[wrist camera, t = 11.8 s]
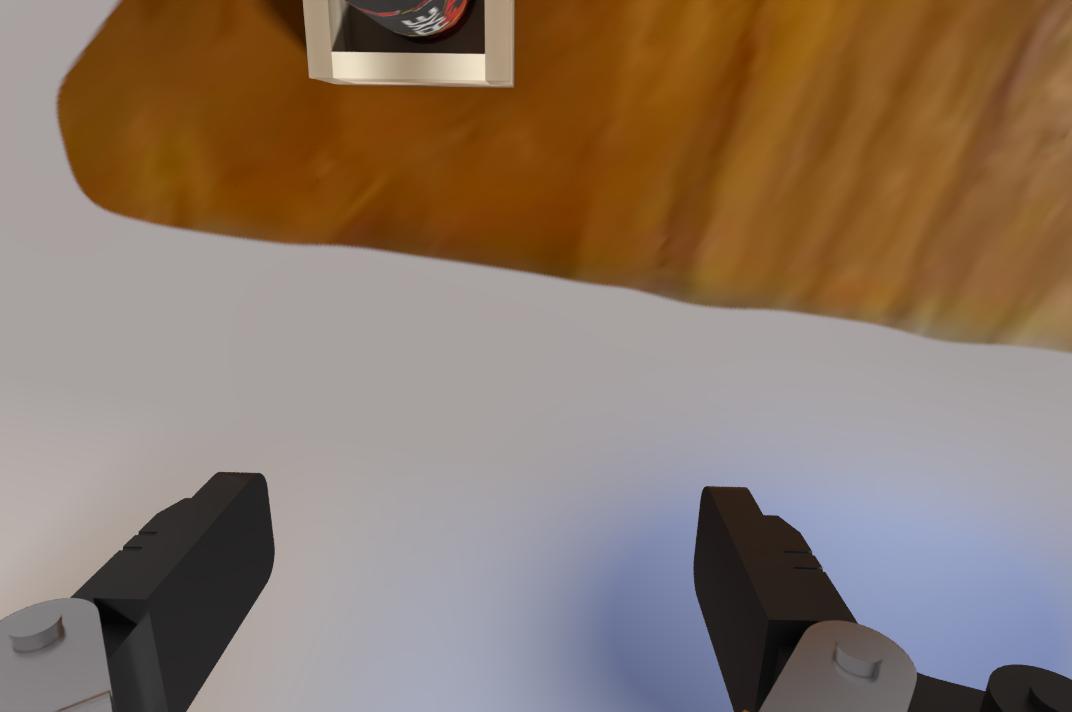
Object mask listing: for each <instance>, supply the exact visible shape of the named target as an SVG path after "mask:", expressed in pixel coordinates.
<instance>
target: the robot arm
mask: <svg viewBox="0 0 1072 712" xmlns="http://www.w3.org/2000/svg"><path fill="white" fill-rule="evenodd" d="M274 554H275V548H274V538H273V530H272V521H271V513H270V504H269V497H268V488H267V482H266V479H265V477H264V476H263V475H262V474H261V473H238V472H237V473H236V472H218V473H216V474H215V475H214V476H213V477H212V478H211V479H210V480H209V481H208V482H207V483H206V484H205V485H204V486H203V487H202V488H201V489H200V490H199V491H198V492H197V493H196V494H195V495H194V496H193V497H192V498H185V499H183V500H181V501H179V502H177V503H175V504H174V505H172V506H170V507H168V508H166V509H165V510H163V511H161V512H159V513H157V514H156V515H155V516H154V517H153V518H152V519H151V520H150V521H149V522H148V523H147V524H146V525H145V526H144V527H143V528H142V529H141V530H140V531H139V534H138V535H135V536H134V537H133V538H132V539H131V540H129V541H128V542H127V543H126V544H125V545H124V546H123V550H122V551H121V550H119V551H118V552H117V553H116V554H115V555H114V556H113V557H112V558H111V559H110V560H109V561H108V562H107V563H106V564H105V565H104V566H103V567H102V568H101V569H99V570H98V571H97V572H96V574H94V575H93V576H92V577H91V578H90V579H89V580H88V581H87V582H86V583H85V584H84V585H83V586H82V587H81V588H80V589H79V590H78V591H77V592H76V593H75V594H74V595H73V596H72V597H71V598H62V599H54V600H49V601H45V602H41V603H38V604H34V605H31V606H29V607H26V608H24V609H21V610H19V611H16V612H14V613H12V614H11V615H9V616H7V617H5V618H3V619H2V620H0V712H186V711H187V710H188V708H189V706H190V705H191V703H192V702H193V700H194V698H195V697H196V695H197V694H198V691H199V690H200V689H201V687H202V686H203V684H204V683H205V681H206V679H207V678H208V676H209V675H210V673H211V671H212V670H213V668H214V667H215V665H216V663H217V662H218V660H219V659H220V657H221V655H222V654H223V652H224V651H225V649H226V647H227V646H228V644H229V643H230V641H231V639H232V638H233V636H234V635H235V633H236V632H237V630H238V628H239V626H240V625H241V624H242V622H243V620H244V619H245V617H246V616H247V614H248V612H249V611H250V609H251V608H252V606H253V604H254V603H255V601H256V600H257V598H258V596H259V595H260V593H261V592H262V590H263V589H264V587H265V585H266V584H267V582H268V580H269V578H270V575H271V572H272V568H273V563H274ZM694 584H695V591H696V595H697V598H698V602H699V605H700V608H701V611H702V614H703V617H704V620H705V623H706V627H707V630H708V633H709V636H710V639H711V642H712V645H713V648H714V651H715V654H716V657H717V660H718V664H719V667H720V670H721V673H722V676H723V679H724V682H725V685H726V688H727V691H728V694H729V698H730V701H731V704H732V706H733V710H734V712H1072V680H1071V679H1069V678H1067V677H1065V676H1062V675H1060V674H1057V673H1055V672H1052V671H1049V670H1045V669H1042V668H1038V667H1034V666H1028V665H1006V666H1002V667H1000V668H997V669H996V670H995V671H993V672H992V674H991V675H990V677H989V681H988V684H987V688H986V691H982V690H978V689H974V688H970V687H966V686H962V685H959V684H955V683H950V682H947V681H943V680H939V679H935V678H932V677H929V676H925V675H923V674H920V673H918V672H916V668H915V666H914V663H913V662H912V660H911V659H910V657H909V656H908V654H906V652H905V651H904V650H903V649H902V648H901V647H900V646H899V645H898V644H896V643H895V642H894V641H892V640H891V639H890V638H888V637H886V636H885V635H883V634H881V633H880V632H878V631H875V630H873V629H871V628H869V627H866V626H863V625H860V624H858V623H857V621H856V620H855V618H854V617H853V615H852V613H851V612H850V610H849V609H848V607H847V606H846V604H845V602H844V601H843V599H842V598H841V596H840V595H839V593H838V591H837V590H836V588H835V587H834V585H833V584H832V582H831V580H830V579H829V577H828V576H827V574H826V573H825V572H823V570H822V566H821V565H820V564H819V562H818V560H817V559H816V557H815V556H813V555H812V551H811V549H810V547H809V546H808V544H807V543H806V541H805V540H804V538H803V536H802V535H801V533H800V532H799V531H797V530H796V529H795V528H793V527H792V526H791V525H789V524H788V523H787V522H785V521H784V520H783V519H782V518H780V517H779V516H771V515H767V516H766V515H763V514H762V512H761V511H760V508H759V507H758V505H757V503H756V502H755V500H754V498H753V496H752V495H751V493H750V491H749V490H748V489H747V488H746V487H714V486H711V487H710V486H706V487H704V489H703V491H702V494H701V500H700V509H699V518H698V528H697V536H696V545H695V555H694Z"/></svg>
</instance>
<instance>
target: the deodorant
mask: <svg viewBox="0 0 1072 712" xmlns="http://www.w3.org/2000/svg"><path fill="white" fill-rule="evenodd" d="M345 1H346V2H348V3H349V4H351V5H352V6H354V7H355V8H357V9H358V10H360V11H361V12H363V13H364V14H366V15H367V16H369V17H370V18H372V19H373V20H375V21H376V22H377V23H379V24H380V25H382V26H383V27H385V28H386V29H388V30H389V31H391V32H392V33H394V34H396V35H398V36H399V37H401V38H403V39H405V40H407V41H411V42H415V43H418V44H432V43H437V42H440V41H443V40H446V39H448V38H449V37H451V36H452V35H454V34H455V33H457V32H458V31H459V30H460V29H461V28H462V27H463V25H464V24H465V23H466V22H467V20H468V19H469V17H470V15H471V13H472V10H473V8H474V6H475V2H476V0H345Z"/></svg>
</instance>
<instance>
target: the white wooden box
mask: <svg viewBox="0 0 1072 712" xmlns="http://www.w3.org/2000/svg"><path fill="white" fill-rule="evenodd" d="M303 8H304V20H305V32H306V44H307V55H308V67H309V78H313V79H317V80H321V81H325V82H329V83H334V84H338V85H380V86H443V87H506V88H514V23H515V0H476V2H475V6H474V8H473V10H472V13H471V15H470V17H469V19H468V20H467V22H466V23H465V24H464V25H463V27H462V28H461V29H460V30H459V31H458V32H457V33H455V34H454V35H452V36H451V37H449V38H448V39H446V40H443V41H440V42H437V43H432V44H418V43H415V42H411V41H407V40H405V39H403V38H401V37H399V36H398V35H396V34H394V33H392V32H391V31H389V30H388V29H386V28H385V27H383V26H382V25H380V24H379V23H377V22H376V21H375V20H373V19H372V18H370V17H369V16H367V15H366V14H364V13H363V12H361V11H360V10H358V9H357V8H355V7H354V6H352V5H351V4H349V3H348V2H346V1H345V0H303Z"/></svg>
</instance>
